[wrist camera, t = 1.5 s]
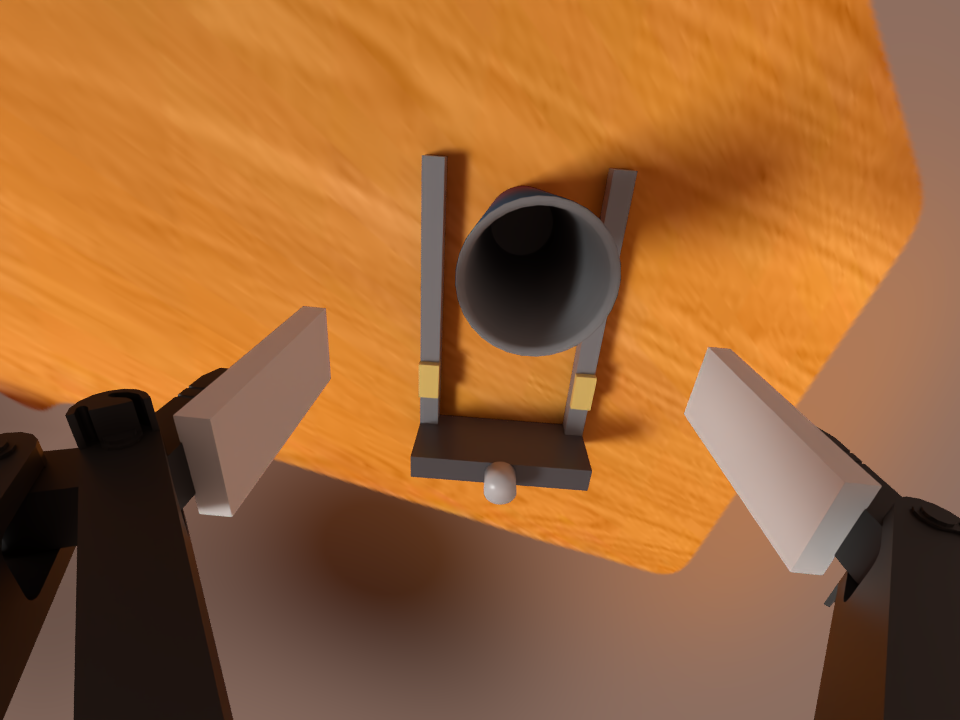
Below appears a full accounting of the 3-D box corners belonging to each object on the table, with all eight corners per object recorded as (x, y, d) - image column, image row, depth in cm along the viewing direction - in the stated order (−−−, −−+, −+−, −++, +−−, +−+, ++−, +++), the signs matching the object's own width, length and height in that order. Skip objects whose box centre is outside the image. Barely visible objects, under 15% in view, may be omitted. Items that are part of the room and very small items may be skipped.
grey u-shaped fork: (424, 154, 30) (400, 158, 23) (632, 170, 30) (673, 178, 22) (422, 433, 40) (405, 496, 33) (576, 445, 40) (592, 511, 33)
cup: (588, 206, 31) (657, 255, 17) (534, 286, 33) (556, 382, 20) (507, 151, 29) (512, 158, 16) (457, 239, 32) (426, 307, 19)
